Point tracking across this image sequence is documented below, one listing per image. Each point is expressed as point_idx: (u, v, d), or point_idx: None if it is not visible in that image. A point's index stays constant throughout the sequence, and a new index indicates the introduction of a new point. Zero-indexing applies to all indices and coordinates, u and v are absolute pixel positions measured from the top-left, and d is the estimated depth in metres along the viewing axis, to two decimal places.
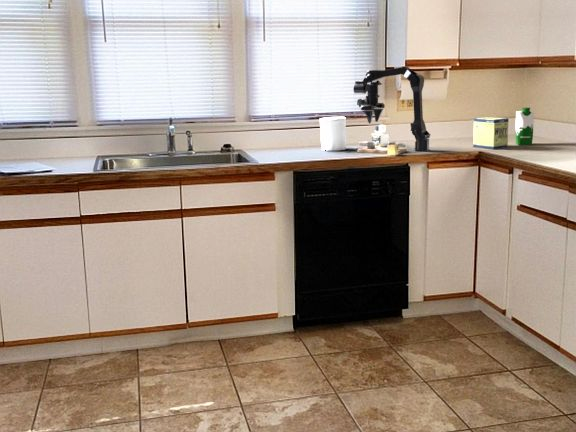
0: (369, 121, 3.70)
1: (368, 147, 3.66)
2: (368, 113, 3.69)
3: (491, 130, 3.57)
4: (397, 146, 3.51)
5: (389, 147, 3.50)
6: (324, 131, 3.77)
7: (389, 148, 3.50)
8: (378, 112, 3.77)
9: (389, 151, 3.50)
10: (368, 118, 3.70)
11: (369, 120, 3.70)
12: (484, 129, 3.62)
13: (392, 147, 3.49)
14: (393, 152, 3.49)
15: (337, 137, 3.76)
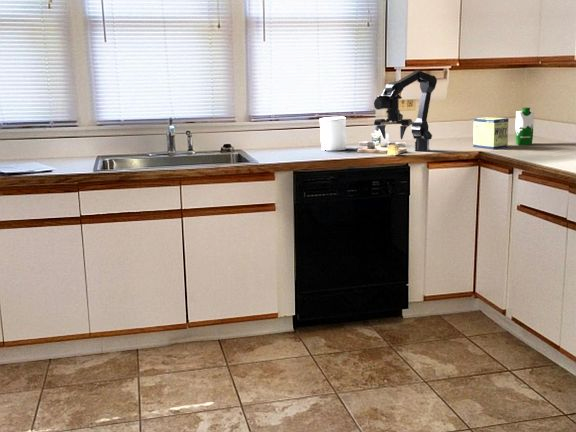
0: None
1: (368, 147, 3.66)
2: None
3: (491, 130, 3.57)
4: (397, 146, 3.51)
5: (389, 147, 3.50)
6: (324, 131, 3.77)
7: (389, 148, 3.50)
8: None
9: (389, 151, 3.50)
10: None
11: None
12: (484, 129, 3.62)
13: (392, 147, 3.49)
14: (393, 152, 3.49)
15: (337, 137, 3.76)
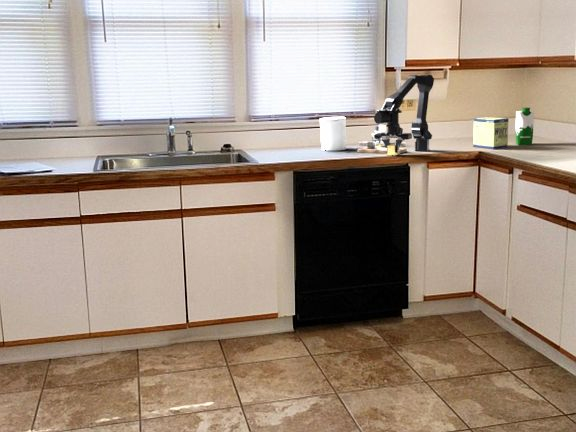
0: None
1: (368, 147, 3.66)
2: None
3: (491, 130, 3.57)
4: None
5: (389, 147, 3.50)
6: (324, 131, 3.77)
7: (389, 148, 3.50)
8: None
9: (389, 151, 3.50)
10: None
11: None
12: (484, 129, 3.62)
13: (392, 147, 3.49)
14: (393, 152, 3.49)
15: (337, 137, 3.76)
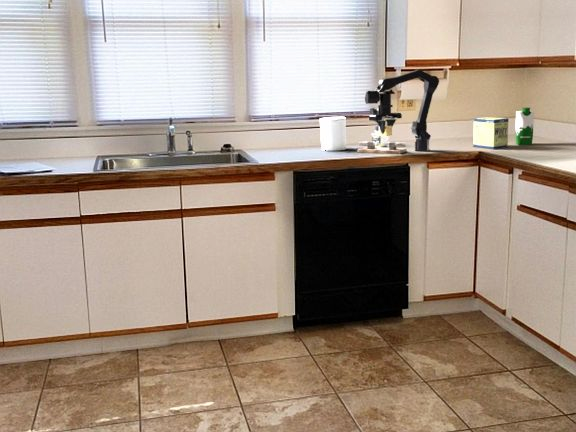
0: (382, 131, 3.56)
1: (368, 147, 3.66)
2: (380, 123, 3.55)
3: (491, 130, 3.57)
4: None
5: (387, 127, 3.55)
6: (324, 131, 3.77)
7: (387, 128, 3.55)
8: (390, 123, 3.58)
9: (387, 131, 3.55)
10: (380, 128, 3.56)
11: (382, 130, 3.56)
12: (484, 129, 3.62)
13: (390, 127, 3.56)
14: (390, 132, 3.57)
15: (337, 137, 3.76)
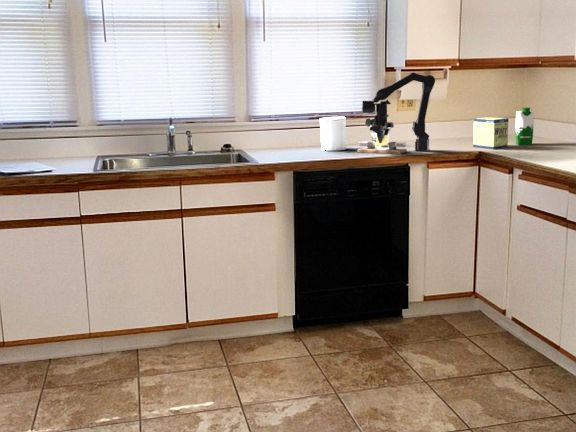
0: (380, 141, 3.61)
1: (368, 147, 3.66)
2: (379, 133, 3.60)
3: (491, 130, 3.57)
4: None
5: (385, 137, 3.61)
6: (324, 131, 3.77)
7: (385, 138, 3.61)
8: (385, 132, 3.64)
9: (385, 141, 3.62)
10: (379, 138, 3.61)
11: (380, 140, 3.61)
12: (484, 129, 3.62)
13: (386, 136, 3.62)
14: (387, 141, 3.64)
15: (337, 137, 3.76)
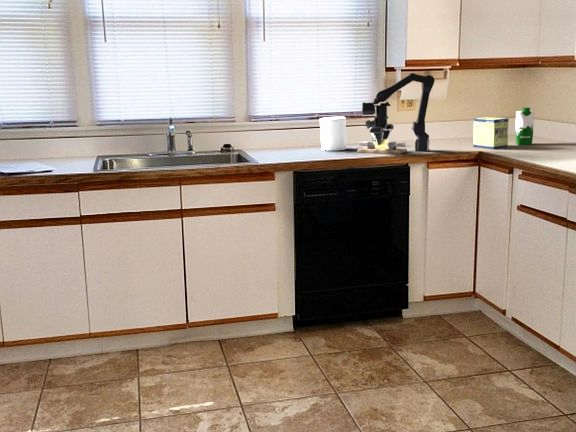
0: (379, 143, 3.60)
1: (368, 147, 3.66)
2: (378, 135, 3.59)
3: (491, 130, 3.57)
4: None
5: (385, 141, 3.62)
6: (324, 131, 3.77)
7: (385, 142, 3.62)
8: (386, 134, 3.66)
9: (385, 145, 3.62)
10: (378, 140, 3.60)
11: (379, 142, 3.60)
12: (484, 129, 3.62)
13: (386, 140, 3.63)
14: None
15: (337, 137, 3.76)
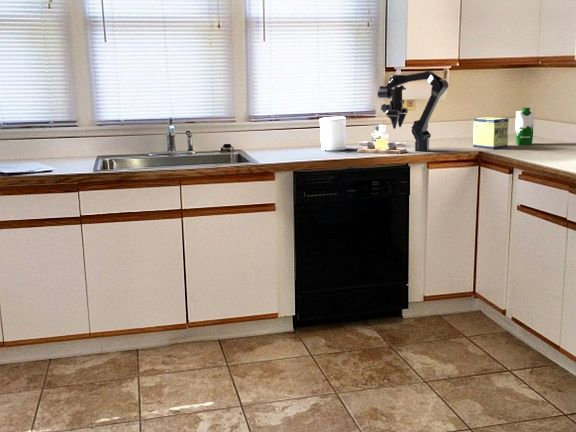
0: (394, 126, 3.65)
1: (368, 147, 3.66)
2: (393, 118, 3.64)
3: (491, 130, 3.57)
4: None
5: (385, 141, 3.62)
6: (324, 131, 3.77)
7: (385, 142, 3.62)
8: (401, 117, 3.73)
9: (385, 145, 3.62)
10: (393, 123, 3.65)
11: (394, 125, 3.65)
12: (484, 129, 3.62)
13: (386, 140, 3.63)
14: None
15: (337, 137, 3.76)
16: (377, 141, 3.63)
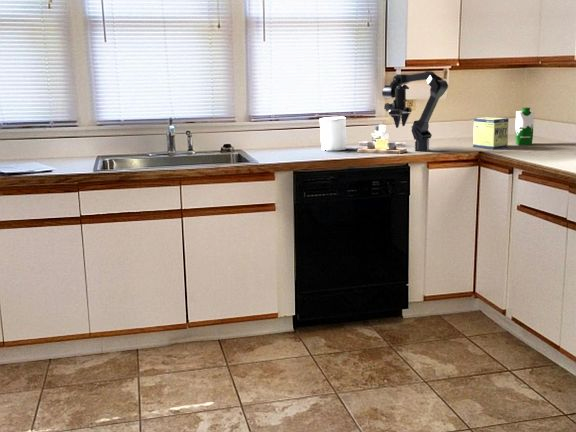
0: (397, 125, 3.67)
1: (368, 147, 3.66)
2: (396, 117, 3.66)
3: (491, 130, 3.57)
4: None
5: (385, 141, 3.62)
6: (324, 131, 3.77)
7: (385, 142, 3.62)
8: (405, 116, 3.74)
9: (385, 145, 3.62)
10: (396, 122, 3.66)
11: (397, 124, 3.67)
12: (484, 129, 3.62)
13: (386, 140, 3.63)
14: None
15: (337, 137, 3.76)
16: (377, 141, 3.63)
